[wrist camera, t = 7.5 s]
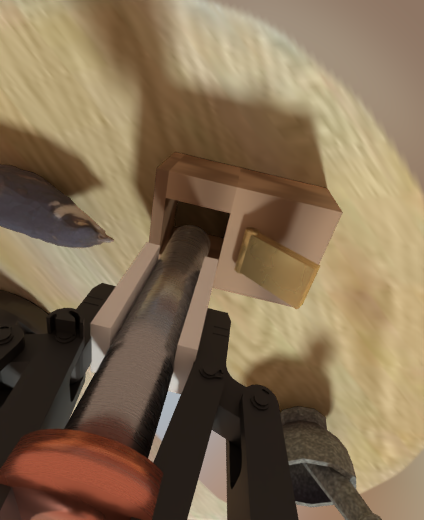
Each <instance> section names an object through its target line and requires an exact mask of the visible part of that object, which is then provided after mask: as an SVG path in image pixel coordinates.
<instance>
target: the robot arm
mask: <svg viewBox="0 0 424 520" xmlns="http://www.w3.org/2000/svg"><path fill="white" fill-rule="evenodd" d="M159 250H160V245H156V244H152V243H148V242H146V244H145V245H144V247H143V248H142V250H141V251H140V252H139V254H138V255H137V257H136V258H135V260H134V261H133V263H132V264H131V265H130V267H129V268H128V270H127V271H126V273H125V274H124V276H123V277H122V278H121V280H120V281H119V283H118V284H117V286H112V285H108V284H104V283H101V284H100V285H98V286H96V287H94V288H93V289H92V290H91V291H90V293H89V294H88V295H87V297H86V298H85V299H84V300H83V302H82V303H81V304H80V305H79V306H78V308H77V309H73V308H62V309H58V310H55V311H53V312H51V313H50V314H49V315H48V314H47V313H46V312H44V311H43V310H42V309H40V308H39V307H37V306H36V305H34V304H33V303H31V302H29V301H27V300H25V299H23V298H21V297H19V296H17V295H14V294H11V293H8V292H5V291H1V290H0V469H1V467H2V466H3V464H4V463H5V461H6V460H7V458H8V457H9V455H10V454H11V452H12V451H13V449H14V448H15V446H16V445H17V443H18V442H19V440H20V439H21V437H23V436H24V435H26V434H28V433H30V432H34V431H38V430H44V429H64V428H65V426H66V425H67V423H68V421H69V418H70V416H71V414H72V411H73V409H74V406H75V404H76V402H77V399H78V397H79V394H80V392H81V389H82V387H83V385H84V382H85V372H86V371H87V369H88V367H89V366H90V364H91V372H94V373H96V371H97V369H98V367H99V366H100V364H101V362H102V360H103V358H104V357H105V355H106V353H107V351H108V349H109V348H110V346H111V344H112V342H113V340H114V339H115V337H116V335H117V333H118V332H119V330H120V328H121V326H122V324H123V323H124V321H125V319H126V317H127V315H128V314H129V312H130V310H131V308H132V306H133V305H134V303H135V301H136V299H137V298H138V296H139V294H140V292H141V290H142V289H143V287H144V285H145V283H146V281H147V280H148V278H149V276H150V274H151V272H152V271H153V269H154V267H155V265H156V264H157V262H158V258H159ZM217 264H218V259H214V258H210V257H206V256H205V258H204V261H203V264H202V268H201V271H200V274H199V277H198V281H197V284H196V287H195V290H194V294H193V297H192V300H191V303H190V306H189V310H188V313H187V316H186V319H185V323H184V326H183V329H182V332H181V336H180V339H179V342H178V346H177V351H176V355H175V360H174V371H173V375H172V378H171V382H170V385H169V390H168V391H170V392H174V393H179V394H181V396H180V399H179V401H178V404H177V406H176V409H175V411H174V413H173V416H172V418H171V421H170V423H169V426H168V428H167V431H166V433H165V435H164V438H163V440H162V443H161V445H160V448H159V450H158V453H157V455H156V458H155V460H154V464H155V465H156V466H157V467H158V468H159V469H160V470H161V471H162V472H163V476H162V480H161V485H160V489H159V493H158V497H157V501H156V505H155V509H154V513H153V517H152V520H187V518H188V514H189V510H190V507H191V503H192V499H193V496H194V492H195V489H196V485H197V481H198V478H199V474H200V470H201V467H202V463H203V459H204V456H205V452H206V449H207V445H208V441H209V437H210V434H211V430H213V431H215V432H216V433H218V434H219V435H221V436H222V437H224V438H225V439H226V461H227V462H226V466H227V520H298V514H297V509H296V503H295V497H294V491H293V485H292V480H291V474H290V468H289V462H288V456H287V451H286V445H285V439H284V433H283V428H282V422H281V416H280V410H279V405H278V401H277V399H276V396H275V395H274V394H273V393H272V391H270V390H269V389H268V388H266V387H264V386H261V385H251V386H249V387H245V386H243V385H242V384H240V383H238V382H237V381H235V380H234V379H233V378H232V377H231V376H230V374H229V373H228V371H227V368H226V359H227V351H228V342H229V334H230V325H231V320H230V318H229V315H228V313H225V312H221V311H217V310H213V309H209V308H208V303H209V299H210V295H211V290H212V286H213V282H214V277H215V273H216V268H217ZM0 520H22V519H21V515H20V512H19V509H18V506H17V502H16V499H15V496H14V492H13V489H12V487H11V486H7V485H3V484H0ZM130 520H142V519H138V518H134V517H131V519H130Z"/></svg>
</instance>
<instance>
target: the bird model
mask: <svg viewBox="0 0 424 520" xmlns="http://www.w3.org/2000/svg"><path fill="white" fill-rule="evenodd" d="M0 226H1V227H4V228H7V229H10V230H13V231H16V232H20V233H24V234H26V235H28V236H30V237H32V238H37V239H41V240H43V241H45V242H48V243H52V244H55V245H58V246H64V247H71V248H79V249H80V248H85V247H91V246H94V245H99V244H101V243H102V242H112V241H114V239H112V238H111V237H109V236H107V235H106V234H105V231H104V230H103V229H102V228H101V227H100V226H99V225H97V224H96V222H94V221H93V220H92V219H91V218H90V217H89V216H88V215H87V214H86V213H84V212H83V211H82V210H81V209H79V208H78V207H77V206H76V205H75V203H74V202H73V201H72V200H71V199H70V198H69V197H67V196H65V195H64V194H63V193H61V192H60V191H59V190H57V189H56V188H55V187H54V186H52V185H51V184H50V183H49V182H48V181H46V180H45V179H43V178H42V177H40V176H39V175H37V174H35V173H32V172H29V171H24V170H21V169H19V168H16V167H14V166H9V165H1V164H0Z"/></svg>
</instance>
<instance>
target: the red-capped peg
mask: <svg viewBox="0 0 424 520" xmlns="http://www.w3.org/2000/svg"><path fill="white" fill-rule="evenodd" d="M209 249H210V240H209V237H208V235H207V234H206V233H205V232H204V231H203V230H202V229H201V228H199V227H197V226H193V225H184V226H181V227H179V228H178V229H176V230H175V232H174V233H173V235H172V237H171V238H170V240H169V242H168V244H167V246H166V247H165V249H164V251H163V253H162V255H161V256H160V258H159V260H158V262H157V264H156V265H155V267H154V269H153V271H152V272H151V274H150V276H149V278H148V280H147V281H146V283H145V285H144V287H143V289H142V290H141V292H140V294H139V296H138V298H137V299H136V301H135V303H134V305H133V306H132V308H131V310H130V312H129V314H128V315H127V317H126V319H125V321H124V323H123V324H122V326H121V328H120V330H119V332H118V333H117V335H116V337H115V339H114V340H113V342H112V344H111V346H110V348H109V349H108V351H107V353H106V355H105V357H104V358H103V360H102V362H101V364H100V366H99V367H98V369H97V371H96V373H95V374H94V376H93V378H92V380H91V382H90V383H89V385H88V387H87V389H86V391H85V392H84V394H83V396H82V398H81V400H80V401H79V403H78V405H77V407H76V408H75V410H74V412H73V414H72V416H71V417H70V419H69V421H68V423H67V425H66V426H65V428H64V429H44V430H38V431H34V432H30V433H28V434H26V435H24V436H23V437H21V439H20V440H19V442H18V443H17V445H16V446H15V448H14V449H13V451H12V452H11V454H10V455H9V457H8V458H7V460H6V461H5V463H4V464H3V466H2V467H1V469H0V484H3V485H7V486H11V487H12V489H13V492H14V496H15V499H16V502H17V506H18V509H19V512H20V515H21V519H22V520H130V519H131V517H134V518H138V519H142V520H152V517H153V513H154V509H155V505H156V501H157V497H158V493H159V489H160V485H161V480H162V476H163V472H162V471H161V470H160V469H159V468H158V467H157V466H156V465H155V464H154V463H153V462H152V461H150V460H149V459H148V456H149V453H150V450H151V446H152V443H153V439H154V436H155V433H156V429H157V426H158V422H159V419H160V416H161V412H162V409H163V405H164V402H165V399H166V395H167V392H168V388H169V385H170V382H171V378H172V375H173V371H174V360H175V355H176V351H177V346H178V342H179V339H180V336H181V332H182V329H183V326H184V323H185V319H186V316H187V313H188V310H189V306H190V303H191V300H192V297H193V294H194V290H195V287H196V284H197V281H198V277H199V274H200V271H201V268H202V264H203V261H204V258H205V256H206V257H207V256H208V253H209Z"/></svg>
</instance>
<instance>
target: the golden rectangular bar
mask: <svg viewBox="0 0 424 520" xmlns="http://www.w3.org/2000/svg"><path fill="white" fill-rule="evenodd" d="M319 268H320V265H318V264H316V263H314V262H312V261H311V260H309V259H307V258H305V257H303V256H301V255H300V254H298V253H296V252H294V251H292V250H290V249H289V248H287V247H285V246H283V245H281V244H279V243H278V242H276V241H274V240H272V239H270V238H268V237H267V236H265V235H263V234H261V233H259V231H258V230H257V229H255V228H252V227H247V228H246V230H245V233H244V237H243V240H242V244H241V247H240V251H239V254H238V258H237V261H236V265H235V268H234V270H235V271H236V272H237V273H239V274H243V275H245V276H246V277H248V278H249V279H251V280H252V281H254V282H255V283H257V284H258V285H260V286H261V287H263V288H265V289H266V290H268V291H269V292H271V293H272V294H274V295H275V296H277V297H278V298H280V299H281V300H283V301H285V302H286V303H288V304H289V305H291V306H292V307H294V308H295V309H298V308H299V307H300V306H301V305H303V302H304V300H305V298H306V296H307V294H308V292H309V289H310V287H311V285H312V283H313V281H314V278H315V276H316V274H317V272H318V270H319Z"/></svg>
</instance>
